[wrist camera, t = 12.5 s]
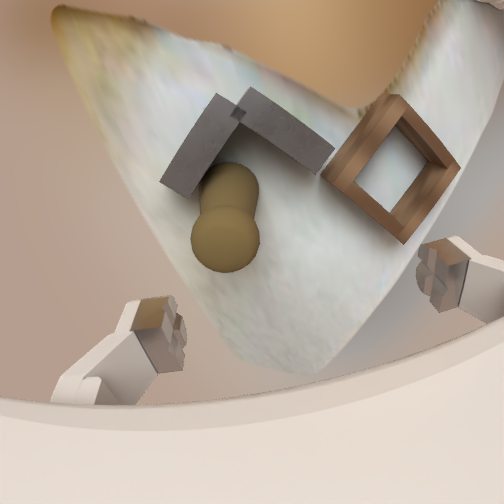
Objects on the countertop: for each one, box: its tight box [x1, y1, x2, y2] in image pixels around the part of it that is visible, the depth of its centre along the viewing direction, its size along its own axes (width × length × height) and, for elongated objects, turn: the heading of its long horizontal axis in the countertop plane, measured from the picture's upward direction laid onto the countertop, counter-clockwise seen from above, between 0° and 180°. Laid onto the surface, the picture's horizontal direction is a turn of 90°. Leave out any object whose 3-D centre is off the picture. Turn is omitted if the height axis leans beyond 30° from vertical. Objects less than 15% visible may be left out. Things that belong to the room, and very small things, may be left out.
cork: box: [191, 162, 260, 273], centre depth 26 cm, size 6×6×11 cm
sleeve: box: [320, 94, 461, 245], centre depth 29 cm, size 12×12×4 cm
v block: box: [159, 87, 335, 199], centre depth 26 cm, size 8×16×5 cm, turn 100°
